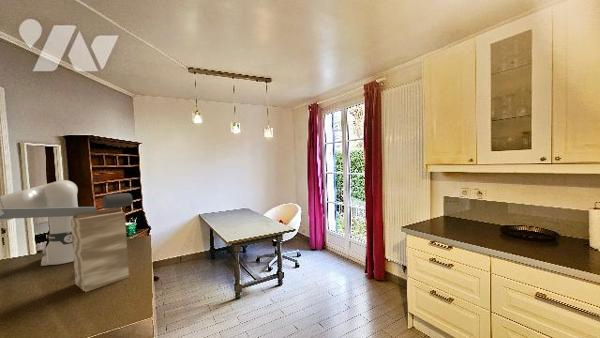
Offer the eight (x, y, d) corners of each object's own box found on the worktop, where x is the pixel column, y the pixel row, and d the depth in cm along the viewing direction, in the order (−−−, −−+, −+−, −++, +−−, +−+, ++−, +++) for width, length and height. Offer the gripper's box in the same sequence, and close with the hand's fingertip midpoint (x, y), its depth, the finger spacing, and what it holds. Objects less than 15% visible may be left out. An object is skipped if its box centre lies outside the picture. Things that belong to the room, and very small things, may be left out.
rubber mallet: (109, 253, 136) (105, 195, 135) (104, 251, 141) (101, 195, 140) (136, 246, 146) (132, 192, 145) (131, 244, 151) (127, 192, 150)
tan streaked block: (75, 283, 101) (70, 213, 101) (117, 270, 113) (113, 207, 112) (85, 292, 94) (79, 216, 93) (129, 277, 105) (124, 209, 105)
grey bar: (-10, 218, 82) (-9, 208, 82) (93, 214, 103) (93, 206, 103) (-9, 219, 80) (-8, 209, 80) (95, 215, 101) (96, 207, 101)
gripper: (-52, 245, 81) (5, 215, 90) (-52, 257, 69) (14, 221, 78) (-71, 229, 78) (-11, 200, 88) (-75, 239, 66) (-4, 204, 75)
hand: (1, 210), depth 83 cm, fingers closed on grey bar, 3 cm apart
